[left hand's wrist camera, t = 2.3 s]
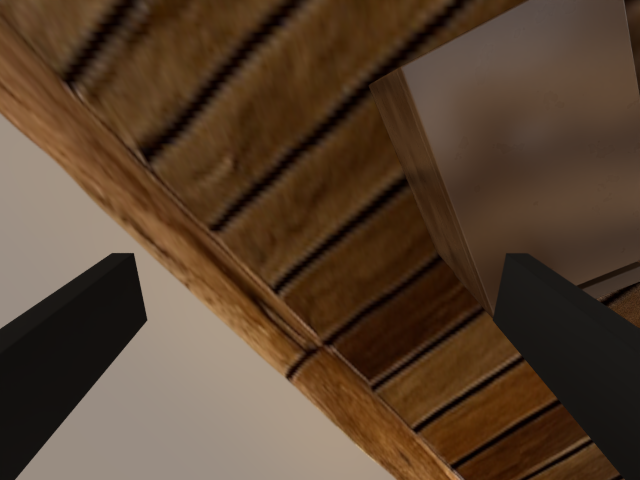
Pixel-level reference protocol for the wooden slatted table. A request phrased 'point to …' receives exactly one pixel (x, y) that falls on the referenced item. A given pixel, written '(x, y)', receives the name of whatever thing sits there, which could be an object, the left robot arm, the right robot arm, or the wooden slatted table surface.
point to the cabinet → (524, 142)
